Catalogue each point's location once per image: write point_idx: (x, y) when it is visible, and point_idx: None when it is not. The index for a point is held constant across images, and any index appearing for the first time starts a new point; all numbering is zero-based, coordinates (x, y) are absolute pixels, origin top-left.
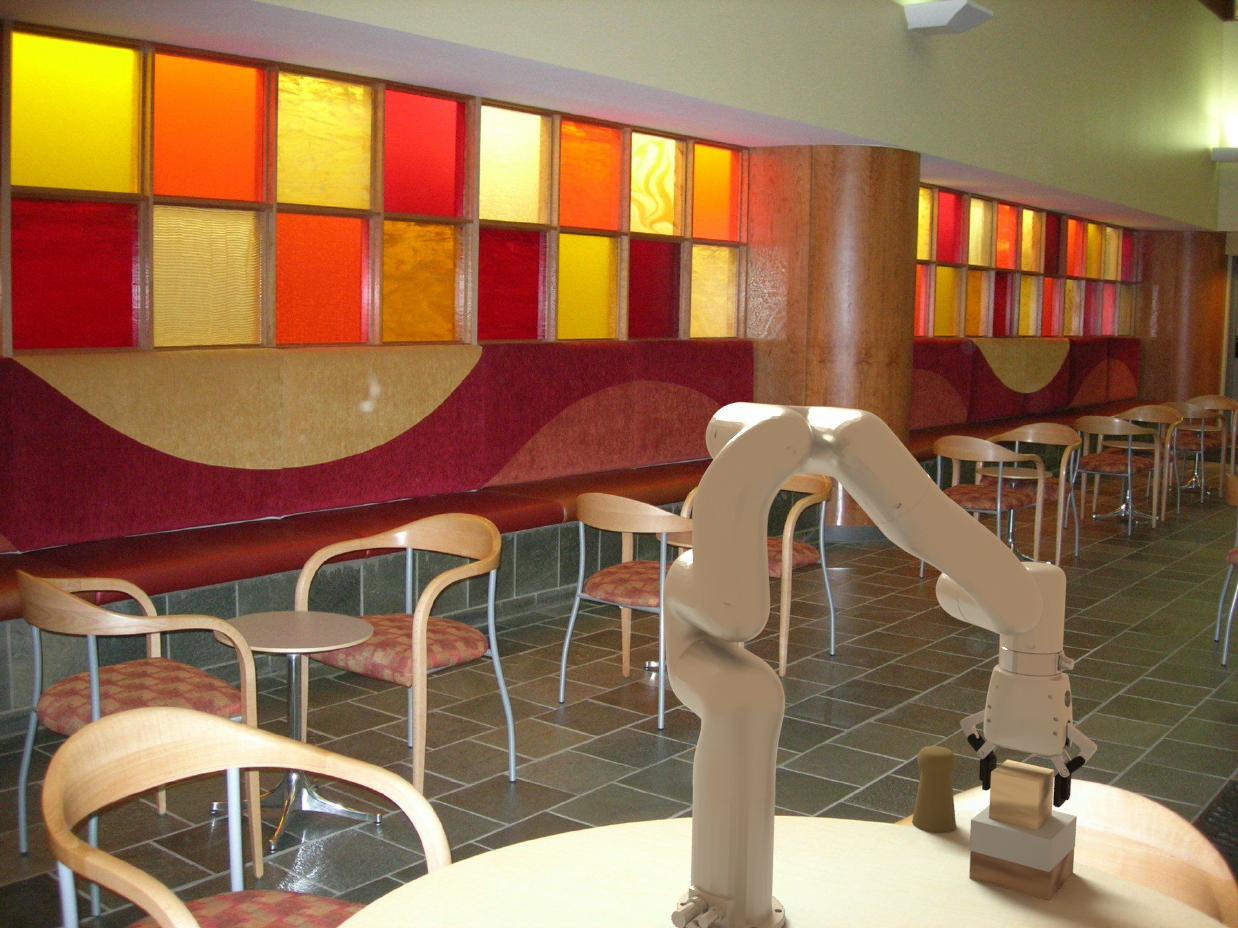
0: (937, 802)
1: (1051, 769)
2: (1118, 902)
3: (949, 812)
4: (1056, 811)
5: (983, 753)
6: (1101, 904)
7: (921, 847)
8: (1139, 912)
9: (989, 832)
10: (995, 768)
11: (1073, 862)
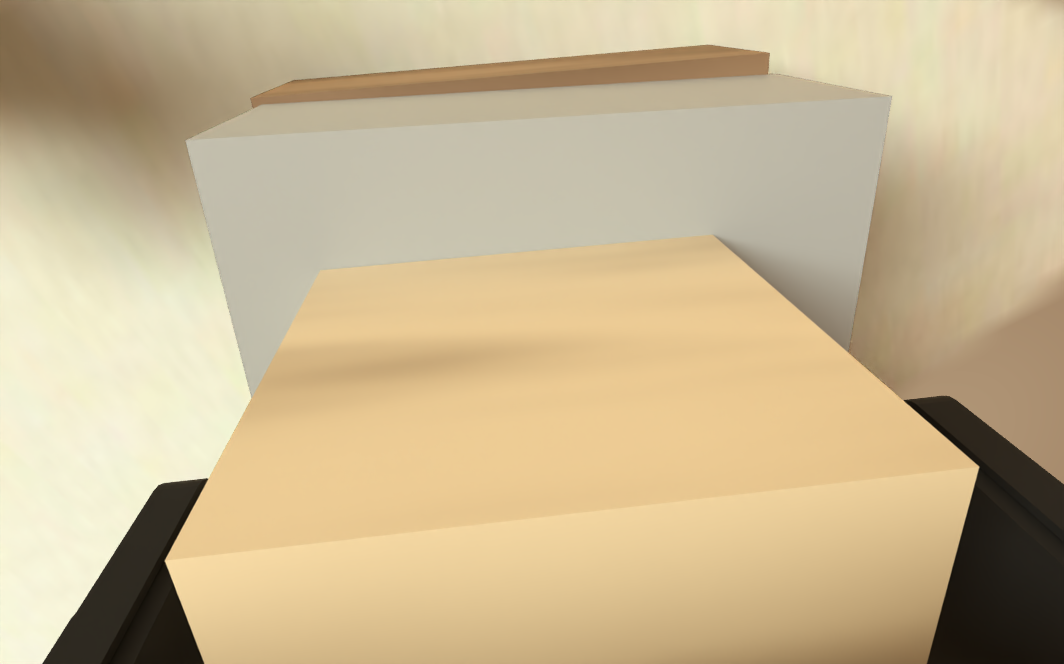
0: None
1: (936, 480)
2: (938, 229)
3: None
4: (721, 109)
5: None
6: (877, 295)
7: (4, 304)
8: (1018, 260)
9: None
10: (165, 651)
11: (727, 47)
